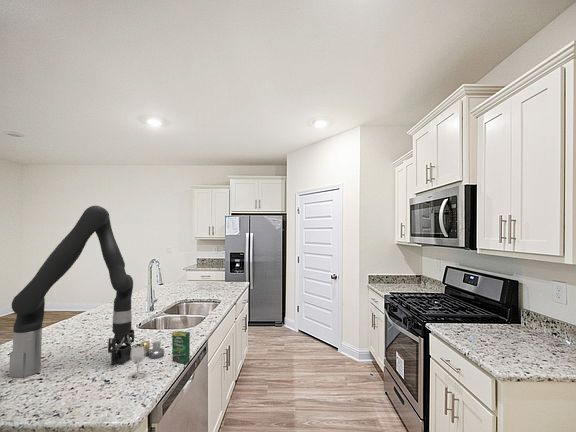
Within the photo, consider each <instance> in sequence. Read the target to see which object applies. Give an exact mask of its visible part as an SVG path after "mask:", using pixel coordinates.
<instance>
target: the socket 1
mask: <svg viewBox="0 0 576 432" xmlns="http://www.w3.org/2000/svg"><path fill="white" fill-rule="evenodd" d="M116 348H117V347H116ZM116 348H115V350H116ZM131 348H132V345H131V346H129V345H125V344H122V345H121V347H120V348H119V350H118V361H116V362H113V361H112V353H110V355H111V356H110V358H111V359H110V360H111V361H110V363H111V364H115V365H124V364H126V363H127V362H129V361H132V360H131V359H130V352H131ZM111 350H112V348H111Z"/></svg>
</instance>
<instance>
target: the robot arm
mask: <svg viewBox="0 0 576 432" xmlns="http://www.w3.org/2000/svg"><path fill="white" fill-rule="evenodd" d="M94 233H95V234H96V237H97V239H98V242H99V246H100V250H101V254H102V258H103V261H104V263H105V266H106V268H107V270H108V274H109V280H110V284H111V286H112V288H113V290H114V291H115V292H116V293H115V298H114V301H113V314H112V330H111V331H112V333H113V334H114V336H113V337H109V338H108V345H107V353H110V354H111V353H112V361H113V362H116V361H118V350H119V348H120V347H121V345H129V346H131V347H132V345H133V343H134V342H135V329H132V319H133V318H132V317H133V316H132V314H133V313H132V295H133V291H134V290H133V289H134V280H133V279H134V278H133V277H132V276H131V275H130V274H127V272H126V270H125V269H126V268H125V267H126V264H125V260H124V257H123V255H122V253H121V249H120V247H119V246H118V243H117V241H116V239H115V236H114V235H115V234H114V232H113V229H112V223H111V219H110V214H109V211H108V210H107V209H106V208H104V207H103V206H100V205H91V206H89V207H87V208H86V209H84V210H83V212H82V214H81V216H80V218H79V219H78V221H77V222H76V223H75V225H74V226H73V228H72V229H71V230H70V231H69V232H68V234H66V236H64V238H63V239H61V241H60V243H59V244H58V245H56V247H55V248H54V249H53V251H52V252H51V253H50V254H49V255H48V257H47V258H46V259H45V261H44V262H43V264H42V265H41V266H40V268H39V269H38V270H37V272H36V274H35V276H34V277H33V278H32V279H31V280H30V281H29V282H28V283H27V284H26V286H24V287H23V289H22V290H21V291H20V292H18V293H17V294H16V295H15V296H14V297H13V299H12V302H11V309H12V312H13V313H14V314H16V319H15V322H14V323H13V327H12V328H13V330H12V351H10V352H9V369H8V370H9V371H8V376H9V378H10V377H11V378H20V379H21V378H26V377H29V376H33V375H34V374H38V373H39V372H40V371H41V369H42V364H41V363H42V345H43V344H42V343H43V342H42V341H43V340H42V337H43V324H44V323H43V322H44V319H45V318H44V317H45V304H46V303H45V300H46V299H45V296H46V295H47V293H48V292H49V291H50V290H51V288H52V287H53V286H54V285H55V284H56V283H57V282H58V281H59V280H60V279H61V278H62V277H63V276H65V274H66V273H67V272H68V271H69V270H70V269H71V268H72V267H73V265H74V264H75V263H76V261H77V260H78V259H79V258H80V256H81V254H82V253H83V250H84V248H85V247H86V245H87V242H88V240H90V238H91V237H92V236H93V234H94ZM116 347H117V348H116ZM115 348H116V350H115ZM111 349H112V350H111Z"/></svg>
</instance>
